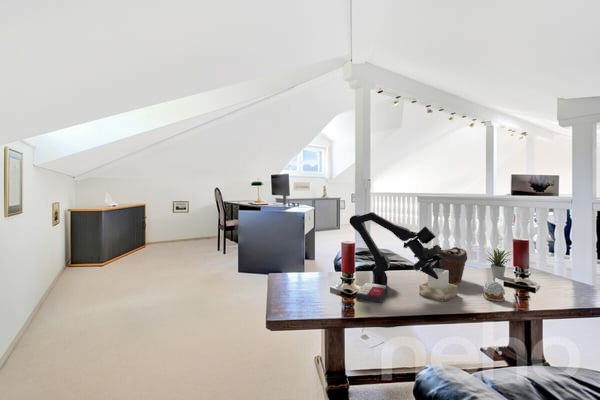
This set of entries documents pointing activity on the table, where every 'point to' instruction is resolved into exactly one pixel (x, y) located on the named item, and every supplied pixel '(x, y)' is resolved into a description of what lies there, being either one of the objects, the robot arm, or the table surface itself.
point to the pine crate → (438, 292)
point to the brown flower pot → (454, 263)
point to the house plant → (498, 263)
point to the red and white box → (372, 292)
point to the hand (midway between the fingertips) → (441, 277)
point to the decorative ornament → (494, 289)
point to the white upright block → (439, 280)
